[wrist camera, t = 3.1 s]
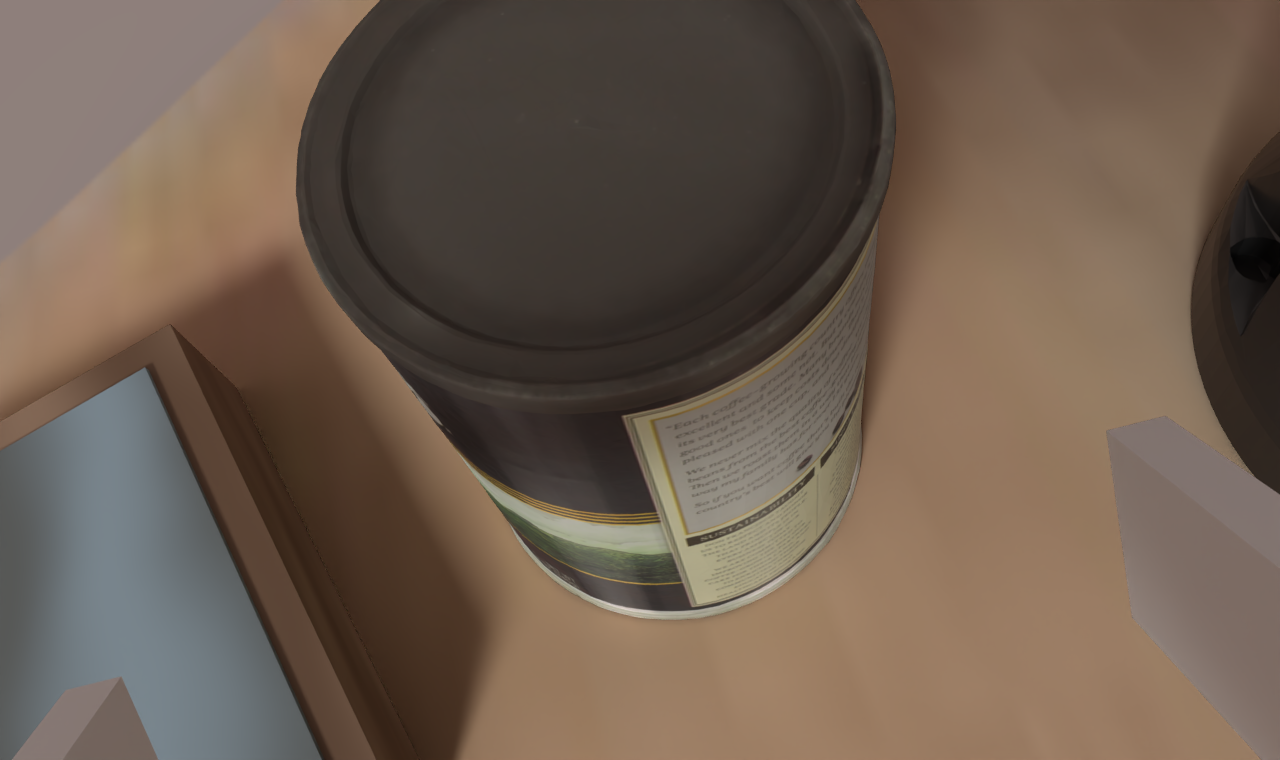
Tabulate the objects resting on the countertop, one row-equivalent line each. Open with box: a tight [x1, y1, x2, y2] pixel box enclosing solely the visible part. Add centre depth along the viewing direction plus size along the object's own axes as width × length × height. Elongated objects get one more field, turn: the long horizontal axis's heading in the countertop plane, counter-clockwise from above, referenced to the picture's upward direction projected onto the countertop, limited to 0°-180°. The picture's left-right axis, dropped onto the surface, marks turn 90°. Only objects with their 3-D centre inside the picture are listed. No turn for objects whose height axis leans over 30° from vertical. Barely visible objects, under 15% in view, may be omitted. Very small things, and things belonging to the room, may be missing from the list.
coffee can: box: [296, 0, 896, 620], centre depth 26 cm, size 10×10×14 cm
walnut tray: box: [0, 324, 419, 760], centre depth 29 cm, size 14×14×4 cm
